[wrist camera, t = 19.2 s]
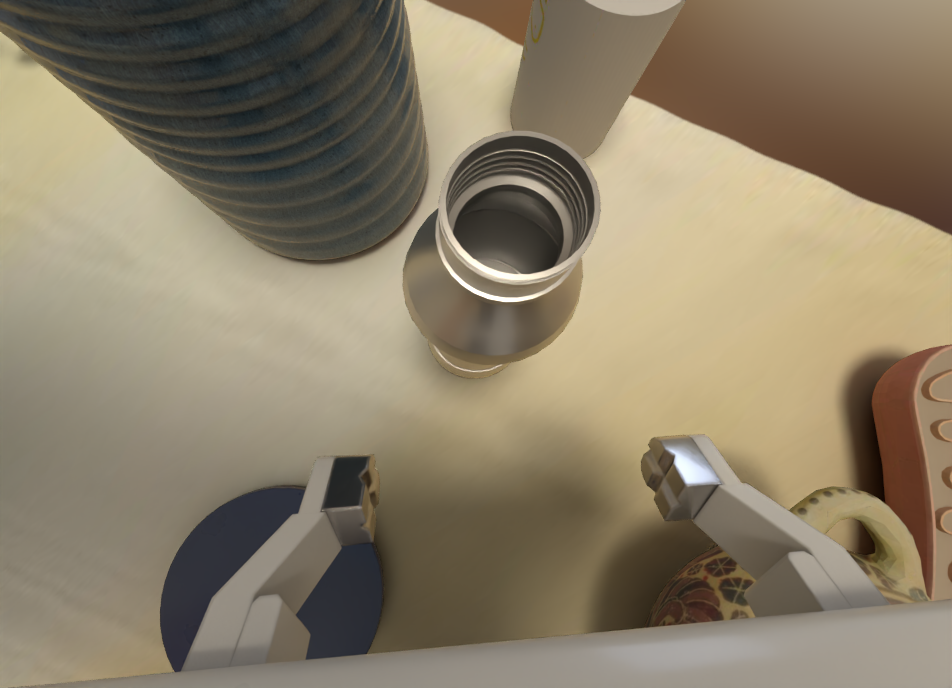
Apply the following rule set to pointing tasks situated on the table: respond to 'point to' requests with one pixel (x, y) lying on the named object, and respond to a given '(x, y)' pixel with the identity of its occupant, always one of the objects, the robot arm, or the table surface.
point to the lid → (234, 542)
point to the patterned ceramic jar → (891, 566)
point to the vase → (253, 106)
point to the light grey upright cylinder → (585, 65)
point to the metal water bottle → (502, 252)
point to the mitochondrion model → (920, 456)
